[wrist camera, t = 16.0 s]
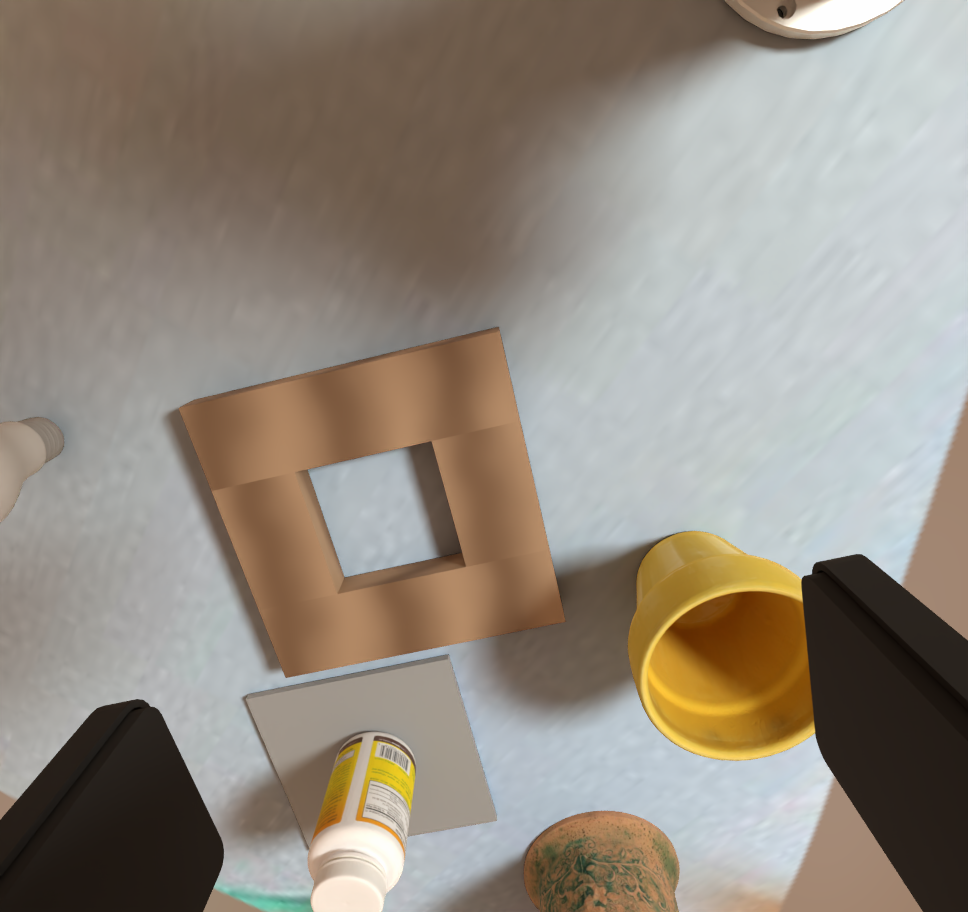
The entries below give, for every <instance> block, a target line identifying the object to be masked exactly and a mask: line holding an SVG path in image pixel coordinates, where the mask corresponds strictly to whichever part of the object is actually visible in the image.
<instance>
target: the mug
mask: <svg viewBox="0 0 968 912" xmlns="http://www.w3.org/2000/svg"><path fill="white" fill-rule="evenodd" d="M678 880H679V862H678V858H677V855H676V852H675V849H674V847H673V845H672V843H671V842H670V840H669V839H668V837H667V836H666V835H665V834H664V833H663V832H662V831H661V830H660V829H659V828H657V827H656V826H655V825H653V824H652V823H650V822H648V821H646V820H644V819H642V818H640V817H637V816H634V815H631V814H627V813H622V812H615V811H593V812H586V813H581V814H577V815H574V816H571V817H568V818H565V819H563V820H561V821H559V822H557V823H555V824H554V825H552V826H551V827H549V828H548V829H547V830H545V831H544V832H543V833H542V834H541V835H540V836H539V837H538V838H537V839H536V840H535V841H534V843H533V844H532V846H531V848H530V849H529V851H528V854H527V856H526V859H525V864H524V882H525V887H526V890H527V893H528V895H529V897H530V899H531V901H532V902H533V903H534V905H535V906H536V907H537V908H538V909H539V910H540V912H679V911H678V907H677V902H676V898H675V893H674V892H675V889H676V887H677V884H678Z"/></svg>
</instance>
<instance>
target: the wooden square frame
mask: <svg viewBox="0 0 968 912" xmlns="http://www.w3.org/2000/svg"><path fill="white" fill-rule="evenodd" d="M179 411H180V413H181V416H182V418H183V421H184V423H185V426H186V428H187V431H188V433H189V436H190V438H191V441H192V443H193V446H194V448H195V451H196V453H197V456H198V458H199V461H200V464H201V466H202V469H203V471H204V474H205V476H206V479H207V481H208V484H209V486H210V489H211V491H212V494H213V496H214V499H215V501H216V504H217V506H218V509H219V511H220V514H221V516H222V519H223V521H224V524H225V526H226V529H227V531H228V534H229V536H230V539H231V542H232V544H233V547H234V549H235V552H236V554H237V557H238V559H239V562H240V564H241V567H242V569H243V572H244V574H245V577H246V579H247V582H248V584H249V587H250V589H251V592H252V594H253V597H254V599H255V602H256V604H257V607H258V609H259V612H260V614H261V617H262V620H263V622H264V625H265V627H266V630H267V632H268V635H269V637H270V640H271V642H272V645H273V647H274V650H275V652H276V655H277V657H278V660H279V662H280V665H281V667H282V670H283V672H284V675H285V677H286V678H288V677H293V676H298V675H303V674H308V673H313V672H318V671H323V670H328V669H333V668H338V667H343V666H348V665H353V664H358V663H363V662H368V661H373V660H378V659H383V658H388V657H393V656H398V655H403V654H408V653H413V652H418V651H423V650H428V649H432V648H437V647H442V646H447V645H452V644H457V643H462V642H467V641H472V640H477V639H482V638H487V637H492V636H497V635H502V634H507V633H512V632H517V631H522V630H527V629H532V628H537V627H542V626H547V625H552V624H557V623H562V622H566V621H565V616H564V611H563V607H562V602H561V598H560V593H559V589H558V584H557V580H556V576H555V571H554V567H553V562H552V558H551V554H550V549H549V545H548V541H547V536H546V532H545V527H544V523H543V519H542V514H541V510H540V505H539V501H538V497H537V492H536V488H535V484H534V479H533V475H532V470H531V466H530V462H529V457H528V453H527V449H526V444H525V440H524V435H523V431H522V427H521V422H520V418H519V413H518V409H517V405H516V400H515V396H514V392H513V387H512V383H511V378H510V374H509V370H508V365H507V361H506V356H505V352H504V348H503V343H502V339H501V335H500V330H499V327H495V328H491V329H487V330H483V331H479V332H475V333H470V334H466V335H462V336H458V337H454V338H450V339H445V340H441V341H437V342H433V343H429V344H425V345H420V346H416V347H412V348H408V349H404V350H400V351H396V352H391V353H387V354H383V355H379V356H375V357H371V358H366V359H362V360H358V361H354V362H350V363H346V364H341V365H337V366H333V367H329V368H325V369H321V370H316V371H312V372H308V373H304V374H300V375H296V376H291V377H287V378H283V379H279V380H275V381H271V382H266V383H262V384H258V385H254V386H250V387H246V388H241V389H237V390H233V391H229V392H225V393H221V394H217V395H212V396H208V397H204V398H200V399H196V400H193V401H191V402H189V403H187V404H185V405H183V406H182V407H180V408H179ZM430 441H432V444H433V448H434V452H435V455H436V459H437V463H438V466H439V470H440V473H441V477H442V481H443V484H444V488H445V492H446V495H447V499H448V503H449V506H450V510H451V513H452V517H453V521H454V524H455V528H456V532H457V535H458V539H459V542H460V546H461V550H462V553H459V554H454V555H449V556H444V557H440V558H435V559H430V560H426V561H421V562H416V563H411V564H407V565H402V566H397V567H393V568H388V569H383V570H378V571H374V572H369V573H364V574H360V575H355V576H350V577H345V578H344V575H343V572H342V569H341V566H340V563H339V560H338V557H337V554H336V551H335V548H334V546H333V543H332V540H331V537H330V534H329V531H328V528H327V525H326V522H325V519H324V516H323V514H322V511H321V508H320V505H319V502H318V499H317V496H316V493H315V490H314V487H313V484H312V482H311V479H310V476H309V473H308V470H307V469H311V468H315V467H320V466H324V465H329V464H333V463H337V462H342V461H346V460H351V459H355V458H359V457H364V456H368V455H373V454H377V453H381V452H386V451H390V450H395V449H399V448H403V447H408V446H412V445H416V444H421V443H425V442H430Z"/></svg>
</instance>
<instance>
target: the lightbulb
mask: <svg viewBox="0 0 968 912" xmlns="http://www.w3.org/2000/svg"><path fill="white" fill-rule="evenodd" d="M63 447H64V437H63V434H62V432H61V430H60V429H59V427H58V426H57V425H56V424H55V423H53V422H52V421H50V420H48V419H46V418H42V417H34V418H29V419H25V420H22V421H18V422H13V421H9V422H2V423H0V523H1V522H2V521H3V520H4V519H5V518H6V517H7V516H8V514H9V513H10V511H11V510H12V509H13V507H14V505H15V503H16V501H17V498H18V496H19V493H20V491H21V488H22V484H23V482H24V481H25V480H26V479H27V478H28V477H30V476H31V475H33V474H35V473H36V472H38V471H39V470H40V469H41V468H42V466H43V465H44V463H46V462H48V461H50V460H51V459H53V458H54V457H56V456H57V455H59V454H60V453H61V451H62V450H63Z"/></svg>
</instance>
